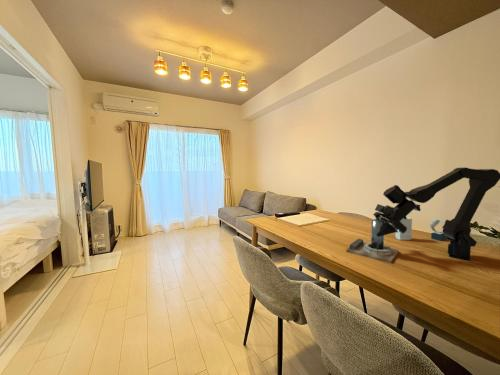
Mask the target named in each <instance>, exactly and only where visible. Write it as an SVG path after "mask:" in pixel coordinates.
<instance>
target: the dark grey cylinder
mask: <svg viewBox="0 0 500 375" xmlns="http://www.w3.org/2000/svg"><path fill="white" fill-rule="evenodd" d="M383 227H384V221H383V220H378V219H376V218H375V219H371V231H370V232H371V235H370V236H371V237H370V238H371V240H370V243H371V248H373V249H377V250H383V249H384V245H385V235H383V236H379V237H378V236H377V233H378V232H379V231H380V230H381V229H382V228H383Z"/></svg>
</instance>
